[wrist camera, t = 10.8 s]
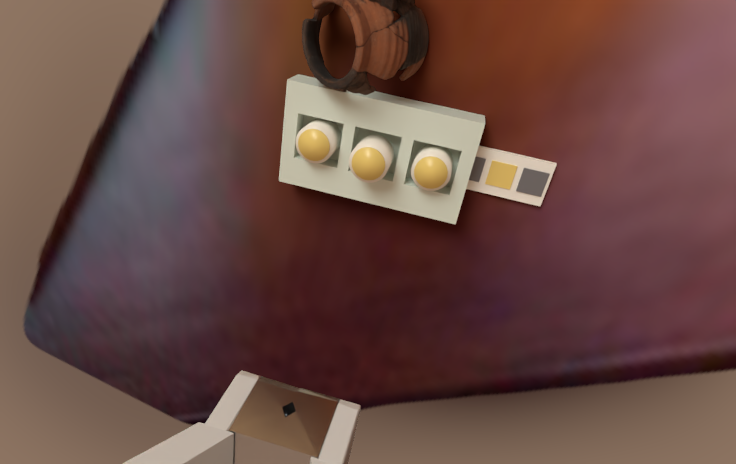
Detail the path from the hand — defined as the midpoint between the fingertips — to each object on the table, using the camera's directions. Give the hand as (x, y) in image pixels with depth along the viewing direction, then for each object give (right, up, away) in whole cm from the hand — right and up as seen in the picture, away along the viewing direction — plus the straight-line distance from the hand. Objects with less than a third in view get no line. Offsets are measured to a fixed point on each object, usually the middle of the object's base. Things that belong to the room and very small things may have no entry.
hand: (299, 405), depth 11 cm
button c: (-3, +13, +35) cm, 38 cm away
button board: (+3, +13, +36) cm, 38 cm away
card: (+14, +10, +34) cm, 38 cm away
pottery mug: (+3, +22, +31) cm, 38 cm away
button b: (+2, +11, +33) cm, 35 cm away
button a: (+8, +11, +34) cm, 36 cm away
